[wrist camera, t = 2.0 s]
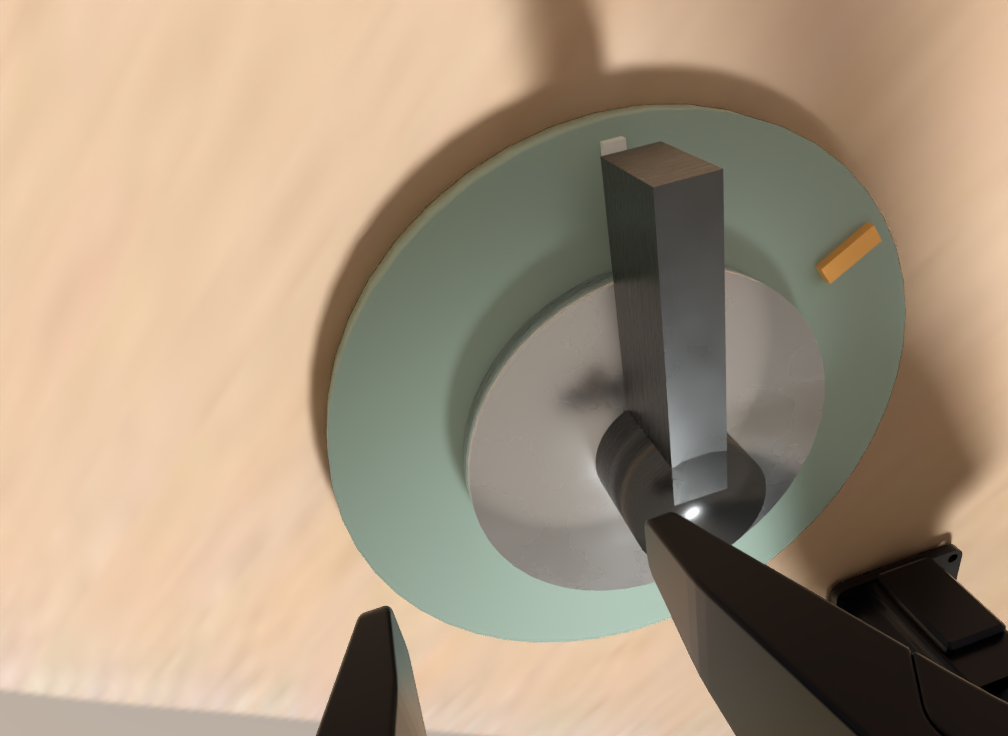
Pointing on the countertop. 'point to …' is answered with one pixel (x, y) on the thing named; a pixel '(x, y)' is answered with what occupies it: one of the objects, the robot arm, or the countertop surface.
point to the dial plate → (542, 278)
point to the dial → (643, 391)
